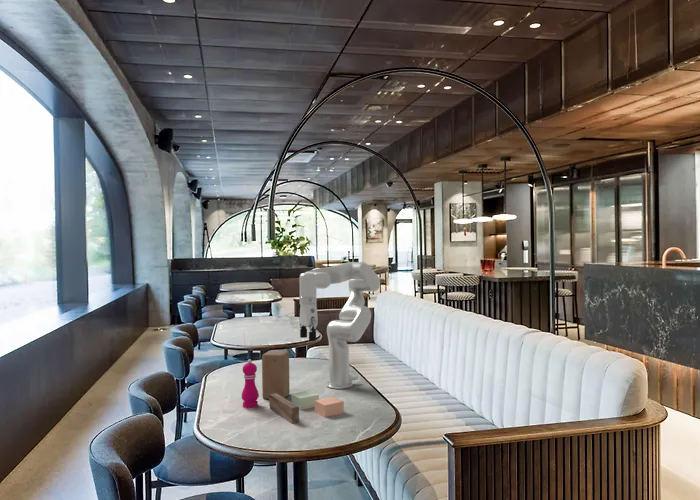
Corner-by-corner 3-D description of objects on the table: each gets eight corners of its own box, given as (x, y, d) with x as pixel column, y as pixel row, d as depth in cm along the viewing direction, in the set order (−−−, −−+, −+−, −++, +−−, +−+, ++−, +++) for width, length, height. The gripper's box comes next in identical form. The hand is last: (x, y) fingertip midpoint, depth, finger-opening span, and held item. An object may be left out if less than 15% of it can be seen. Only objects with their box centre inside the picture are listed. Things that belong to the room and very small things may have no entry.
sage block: (309, 401, 238) (309, 390, 238) (318, 406, 231) (318, 394, 231) (291, 405, 233) (291, 393, 233) (299, 410, 226) (299, 398, 226)
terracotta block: (333, 408, 228) (333, 396, 228) (343, 413, 221) (343, 401, 221) (314, 412, 223) (314, 400, 223) (324, 417, 216) (324, 405, 216)
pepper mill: (261, 404, 234) (261, 358, 234) (253, 409, 228) (252, 361, 227) (247, 402, 237) (246, 357, 236) (238, 407, 230) (237, 360, 230)
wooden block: (283, 400, 240) (282, 355, 240) (261, 399, 242) (261, 354, 242) (290, 394, 250) (289, 350, 249) (269, 393, 252) (268, 349, 251)
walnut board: (276, 407, 230) (276, 393, 230) (299, 422, 211) (298, 406, 211) (269, 408, 228) (269, 394, 228) (292, 423, 209) (291, 408, 209)
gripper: (324, 302, 237) (323, 341, 237) (307, 298, 252) (307, 335, 252) (308, 302, 233) (308, 342, 233) (292, 299, 249) (292, 337, 249)
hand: (308, 339), depth 243 cm, fingers open, 9 cm apart
